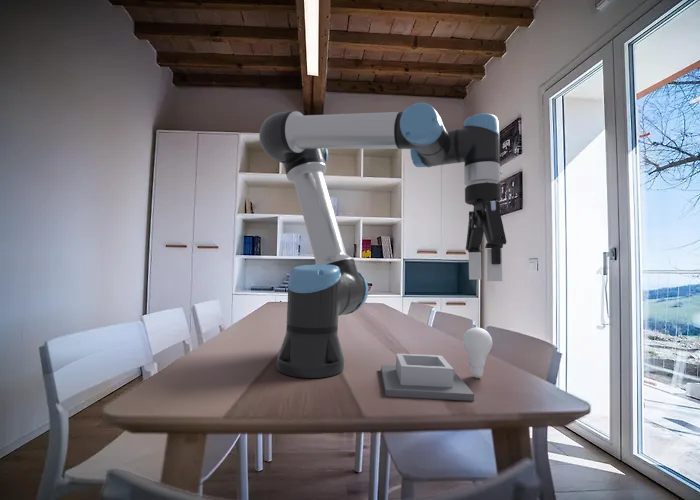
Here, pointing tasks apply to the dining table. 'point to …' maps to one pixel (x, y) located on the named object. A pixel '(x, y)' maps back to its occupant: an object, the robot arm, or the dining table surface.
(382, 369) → the lamp socket
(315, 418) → the dining table surface
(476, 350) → the lightbulb
